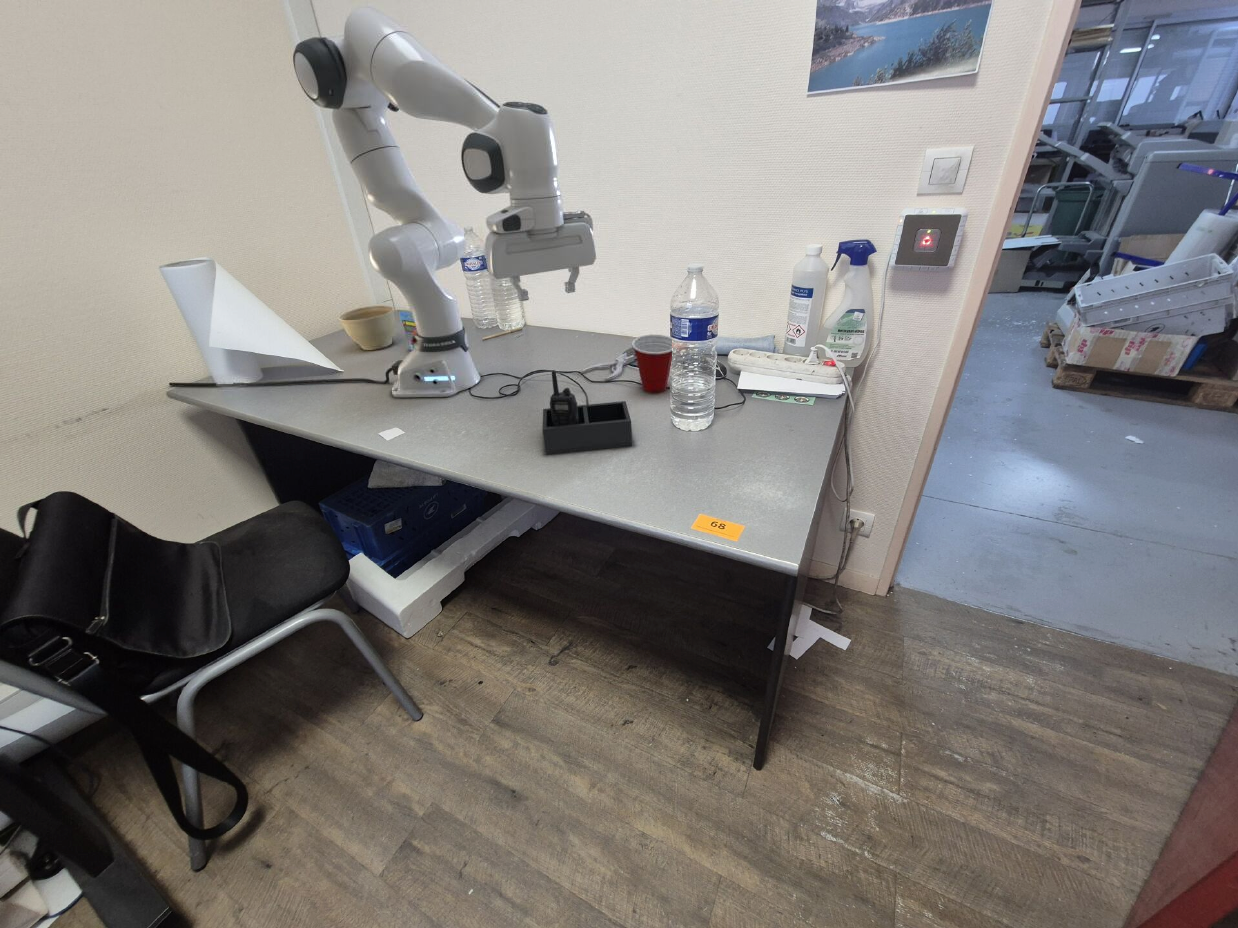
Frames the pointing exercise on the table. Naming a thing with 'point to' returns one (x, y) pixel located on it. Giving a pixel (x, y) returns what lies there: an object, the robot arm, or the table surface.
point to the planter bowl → (370, 326)
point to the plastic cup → (653, 361)
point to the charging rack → (589, 429)
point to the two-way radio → (563, 405)
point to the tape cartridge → (408, 326)
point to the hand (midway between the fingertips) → (547, 296)
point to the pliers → (619, 362)
